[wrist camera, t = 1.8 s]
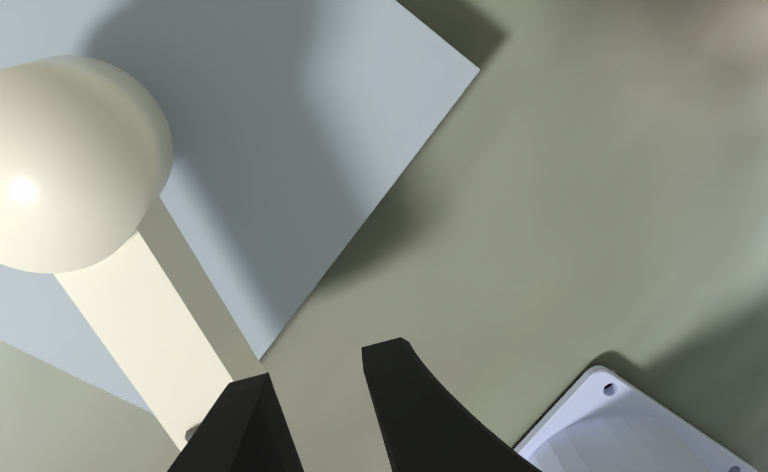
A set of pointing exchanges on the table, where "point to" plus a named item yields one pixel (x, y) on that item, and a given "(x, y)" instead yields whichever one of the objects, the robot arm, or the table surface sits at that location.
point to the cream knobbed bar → (113, 231)
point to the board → (244, 143)
